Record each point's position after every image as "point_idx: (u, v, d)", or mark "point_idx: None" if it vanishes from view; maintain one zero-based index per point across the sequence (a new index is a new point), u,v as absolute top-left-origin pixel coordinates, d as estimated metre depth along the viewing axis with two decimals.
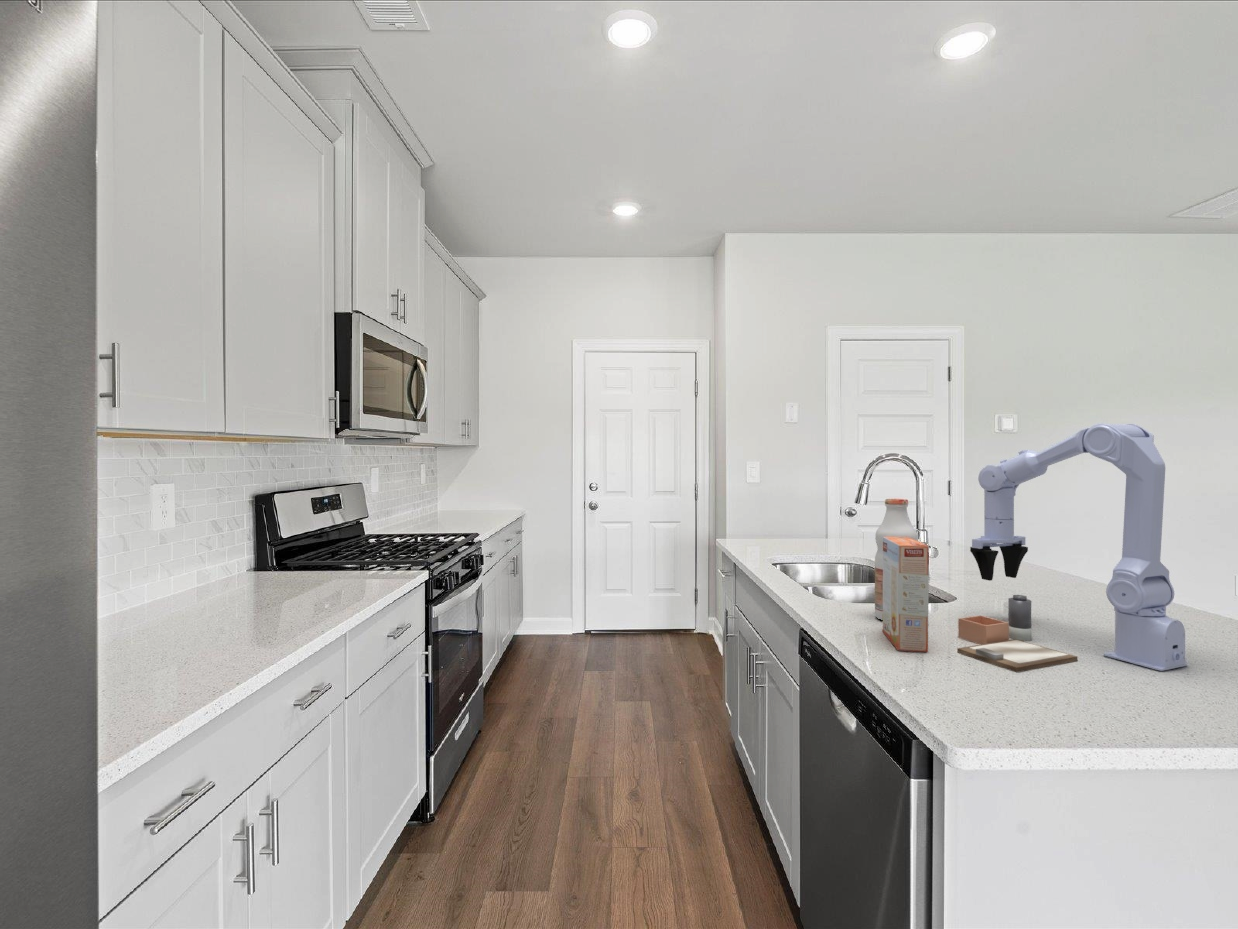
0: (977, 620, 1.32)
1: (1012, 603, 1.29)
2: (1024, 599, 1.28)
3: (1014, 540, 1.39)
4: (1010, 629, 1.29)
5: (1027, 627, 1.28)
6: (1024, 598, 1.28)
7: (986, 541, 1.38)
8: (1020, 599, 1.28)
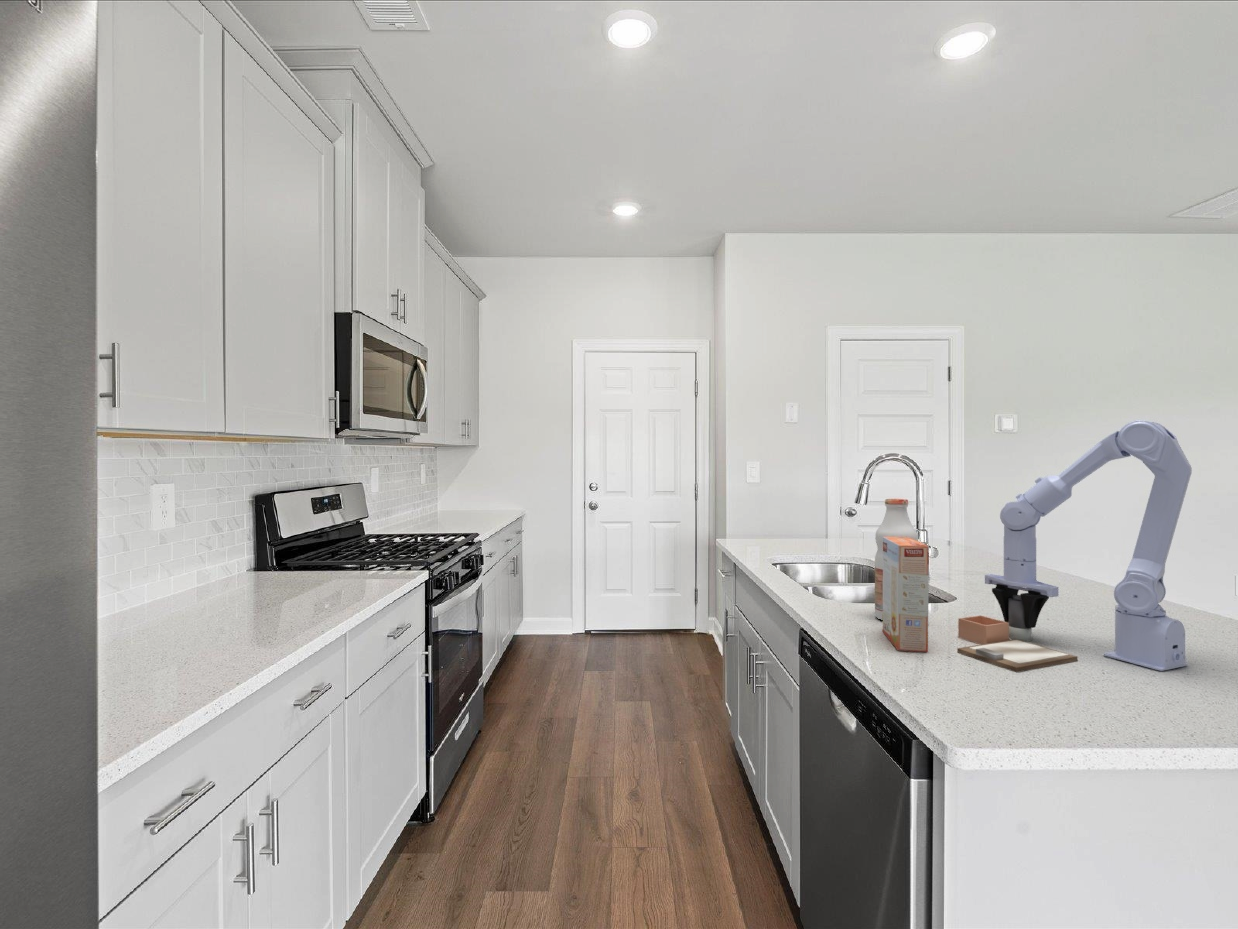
0: (977, 620, 1.32)
1: (1012, 603, 1.29)
2: None
3: (1015, 584, 1.27)
4: (1010, 629, 1.29)
5: None
6: None
7: (991, 577, 1.34)
8: (1020, 599, 1.28)
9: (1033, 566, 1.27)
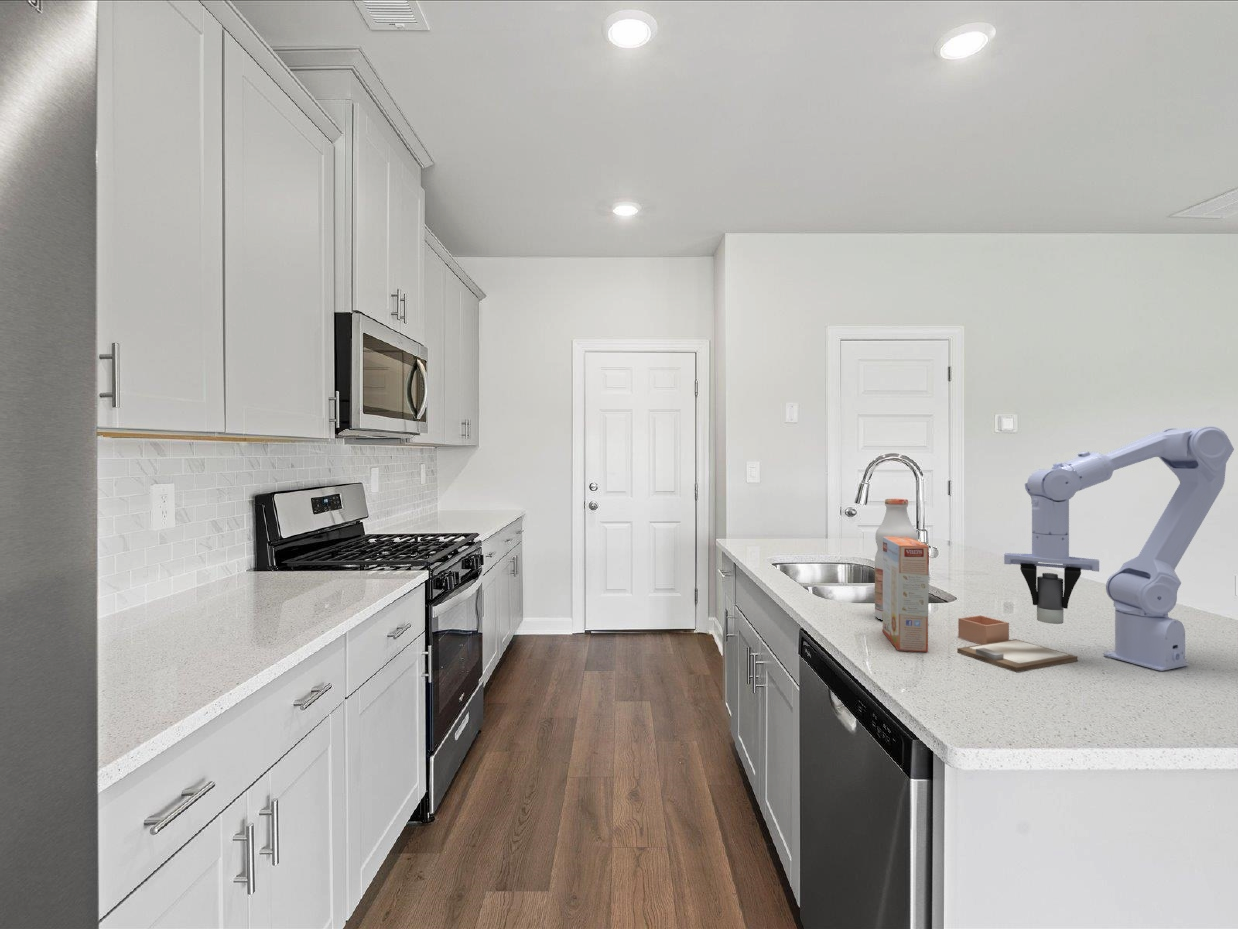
0: (977, 620, 1.32)
1: (1049, 582, 1.15)
2: (1057, 577, 1.16)
3: (1057, 561, 1.14)
4: (1046, 612, 1.15)
5: (1062, 607, 1.15)
6: (1057, 576, 1.16)
7: (1014, 556, 1.19)
8: (1055, 577, 1.15)
9: (1068, 539, 1.15)
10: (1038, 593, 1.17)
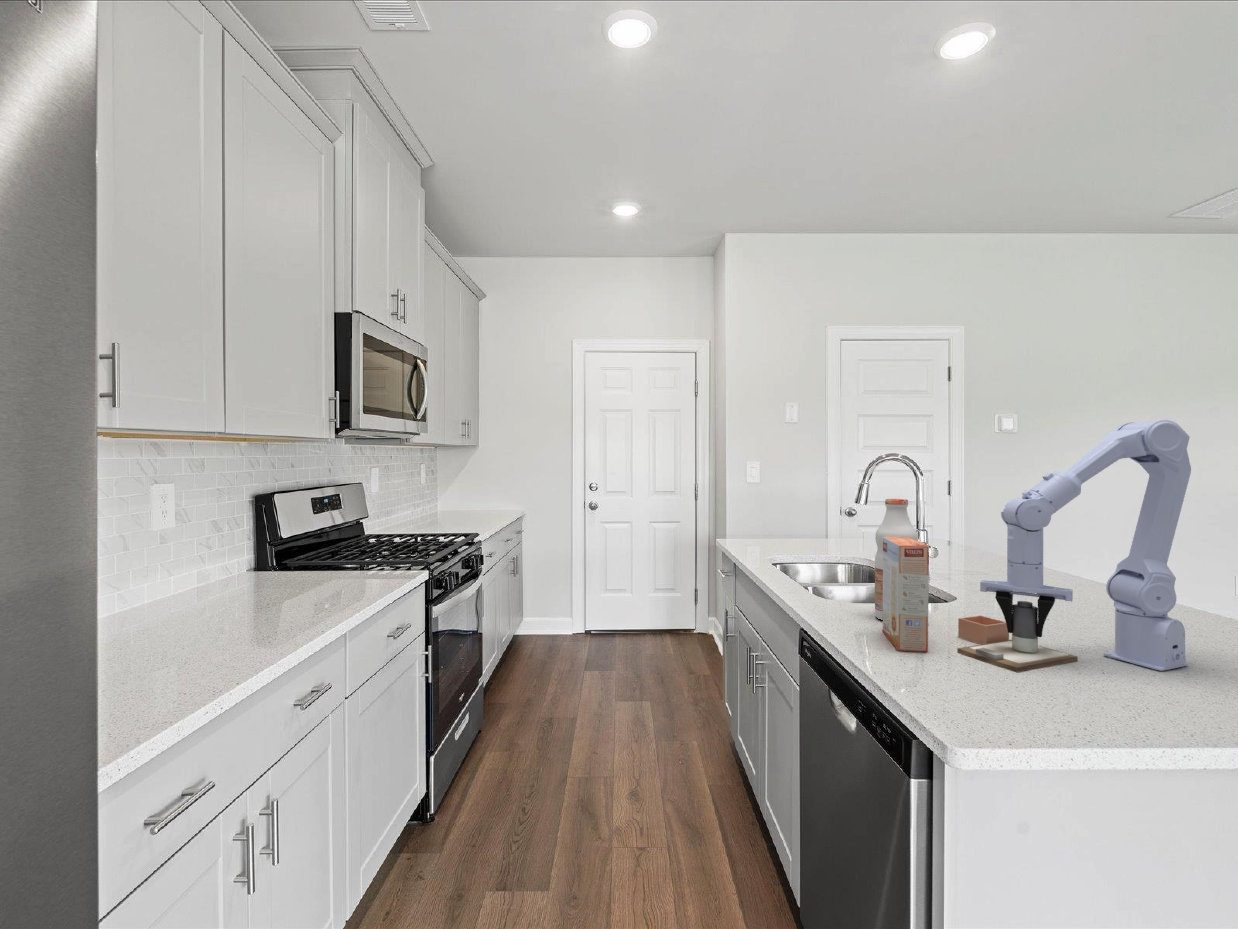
0: (977, 620, 1.32)
1: (1023, 611, 1.16)
2: (1032, 605, 1.17)
3: (1031, 590, 1.15)
4: (1020, 640, 1.17)
5: None
6: (1032, 604, 1.17)
7: (990, 584, 1.20)
8: (1029, 606, 1.17)
9: None
10: (1013, 621, 1.18)
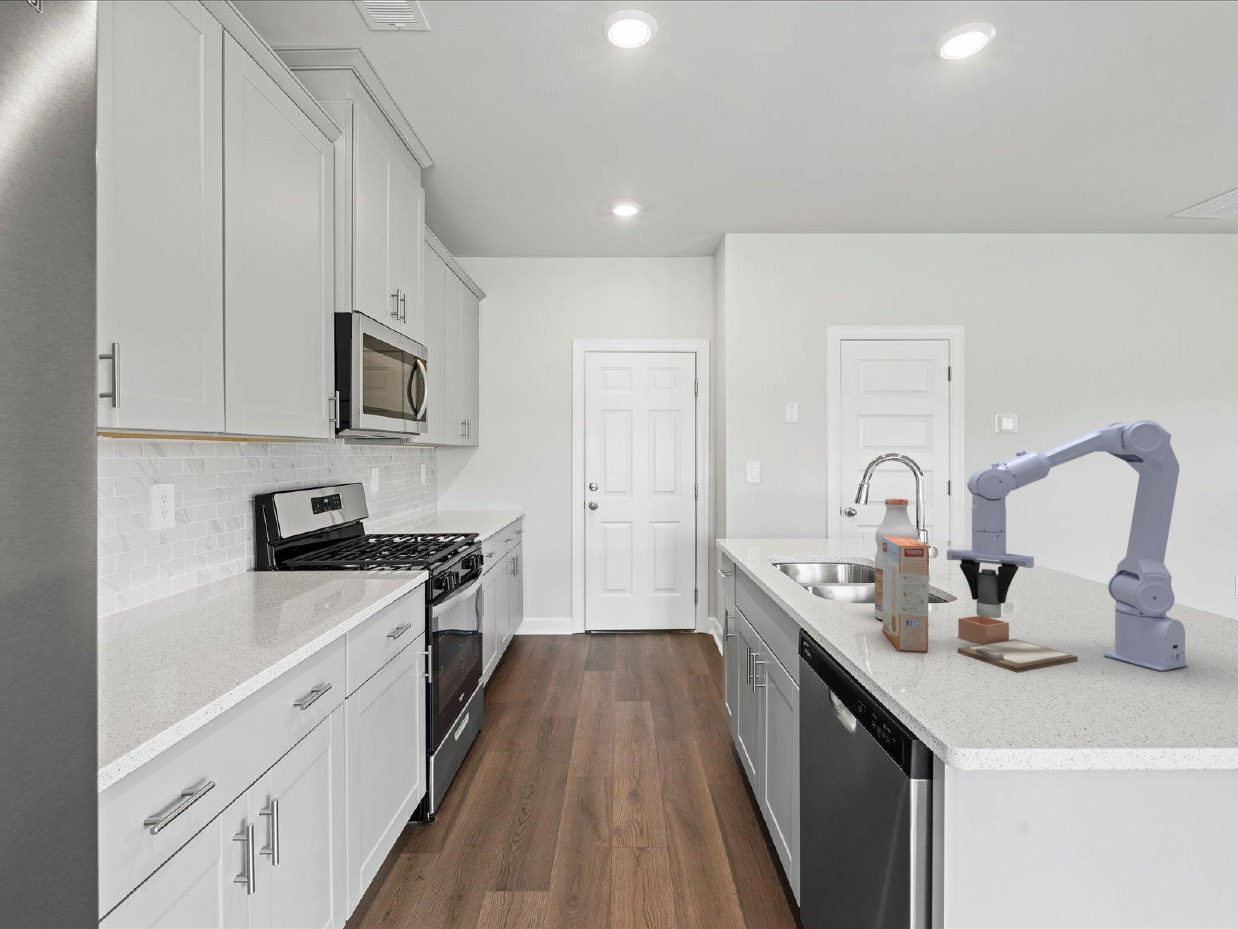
0: (977, 620, 1.32)
1: (985, 578, 1.20)
2: (995, 573, 1.20)
3: (991, 557, 1.18)
4: (982, 606, 1.20)
5: None
6: (995, 572, 1.20)
7: (955, 553, 1.24)
8: (992, 573, 1.20)
9: (1005, 537, 1.19)
10: (977, 588, 1.22)
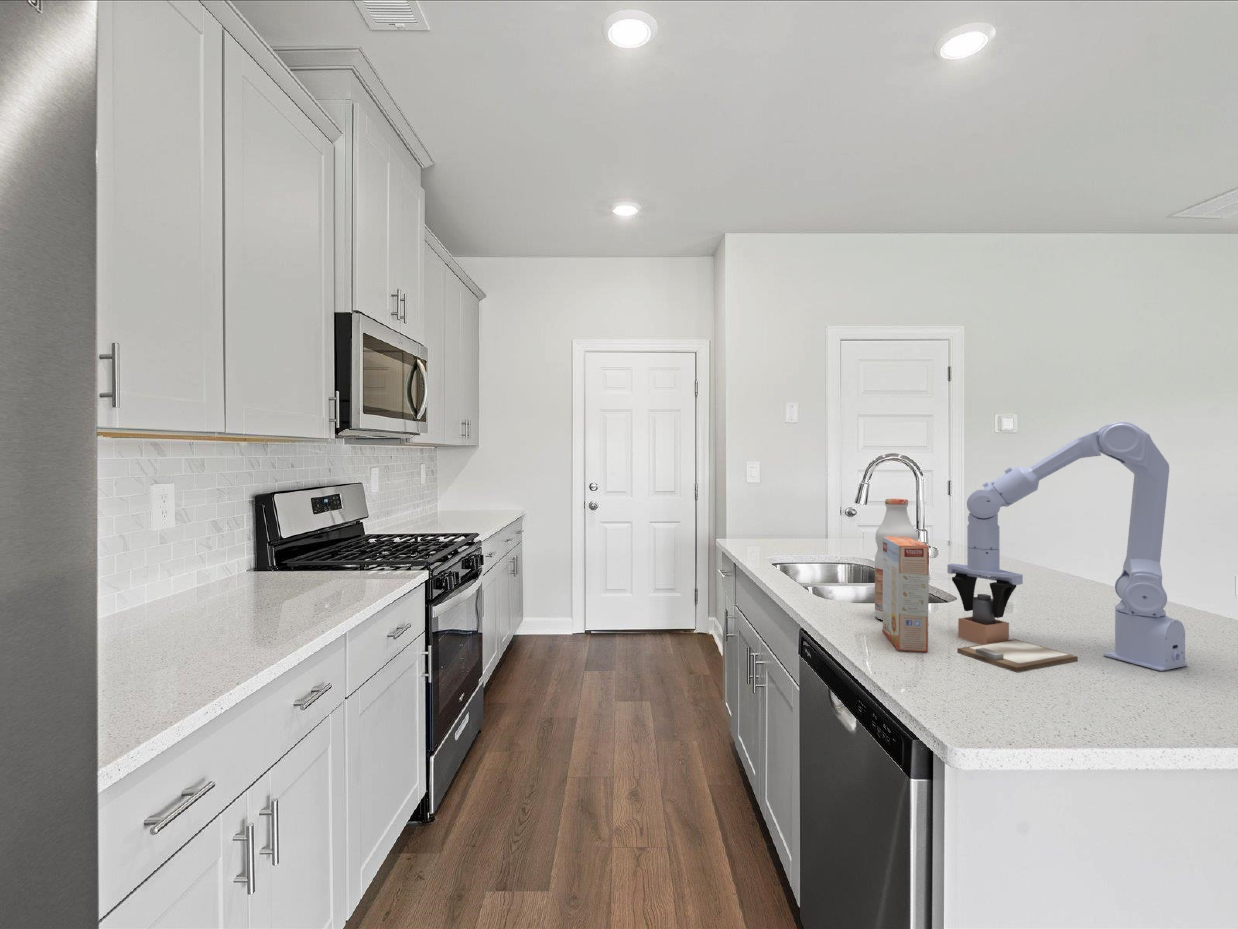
0: None
1: (977, 602, 1.27)
2: (989, 598, 1.27)
3: (980, 572, 1.26)
4: None
5: None
6: (989, 597, 1.27)
7: (954, 567, 1.33)
8: (985, 599, 1.27)
9: (997, 554, 1.26)
10: None
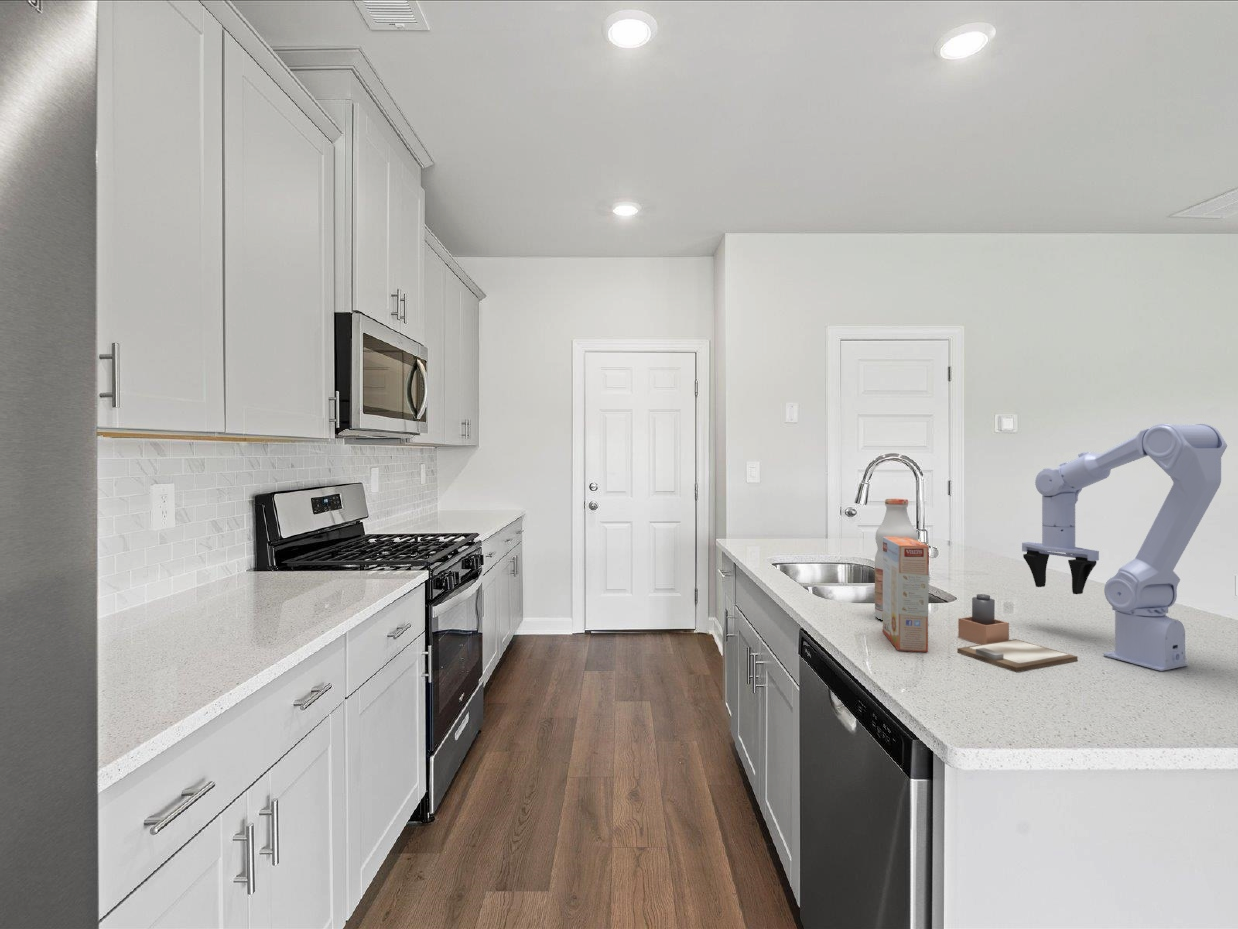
0: None
1: (977, 602, 1.27)
2: (988, 598, 1.27)
3: (1055, 549, 1.29)
4: None
5: None
6: (988, 597, 1.27)
7: (1028, 545, 1.36)
8: (984, 599, 1.27)
9: (1073, 532, 1.29)
10: (972, 611, 1.30)
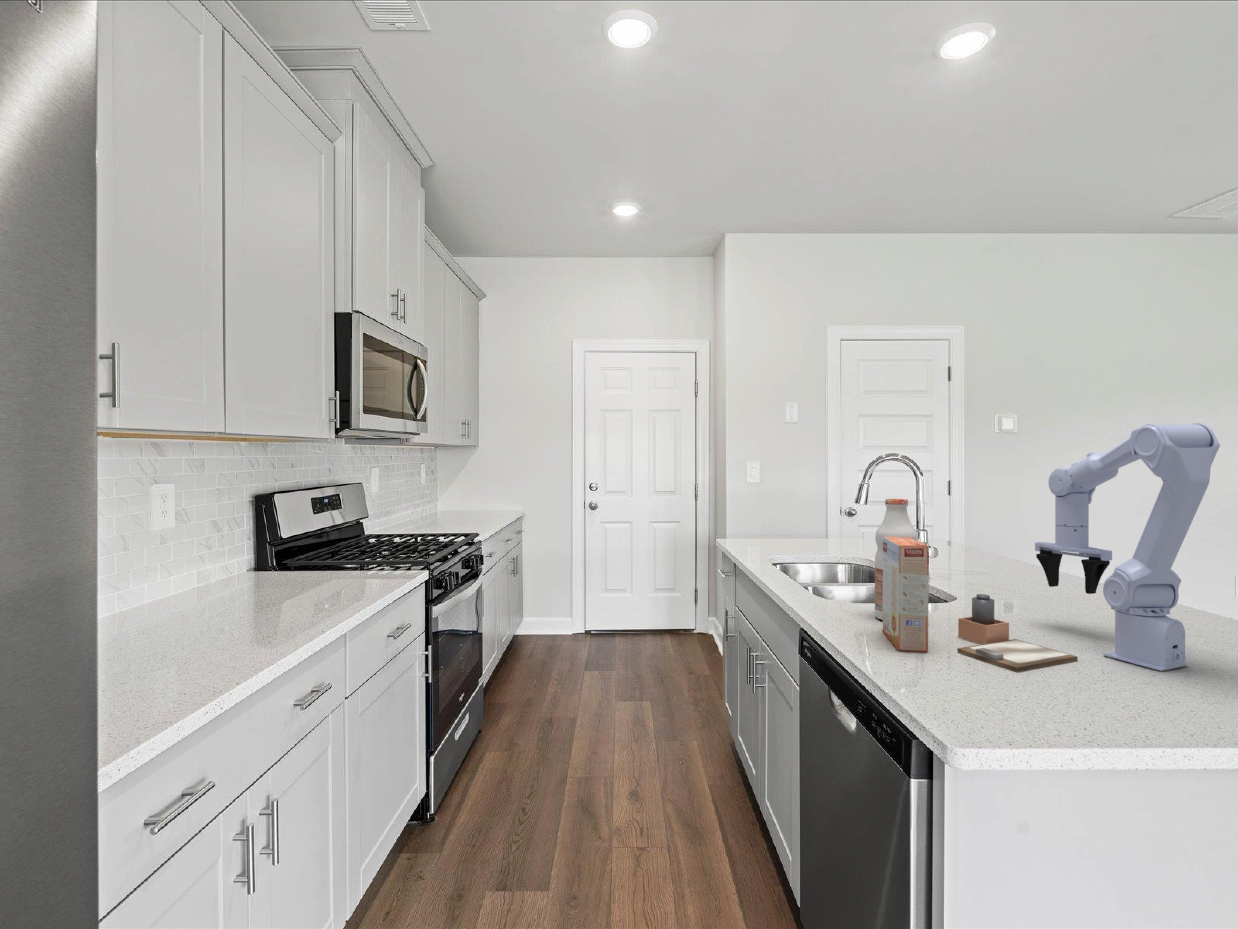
0: None
1: (976, 602, 1.28)
2: (988, 598, 1.27)
3: (1068, 549, 1.30)
4: None
5: None
6: (988, 597, 1.27)
7: (1041, 545, 1.37)
8: (984, 599, 1.27)
9: (1086, 532, 1.29)
10: (972, 611, 1.30)
